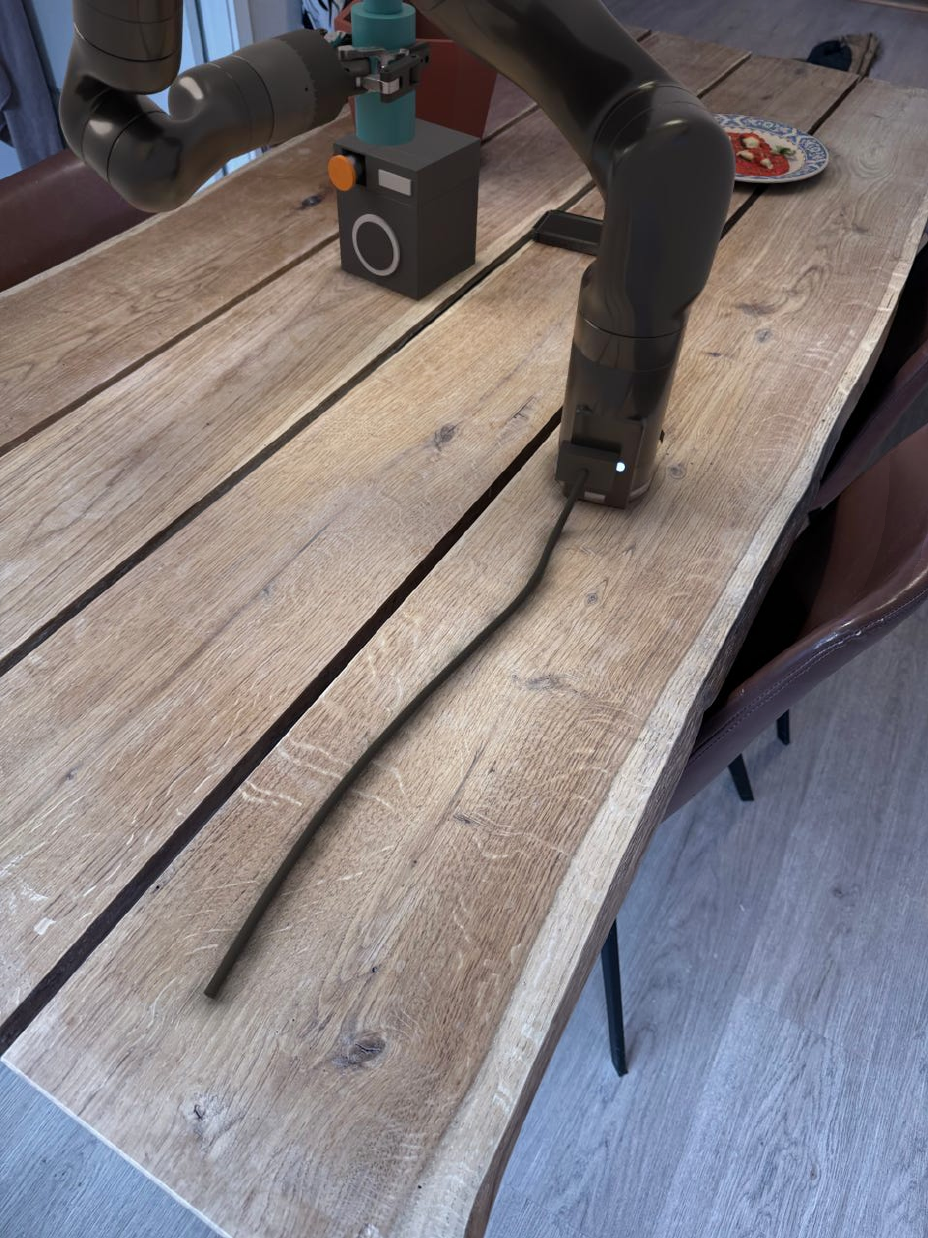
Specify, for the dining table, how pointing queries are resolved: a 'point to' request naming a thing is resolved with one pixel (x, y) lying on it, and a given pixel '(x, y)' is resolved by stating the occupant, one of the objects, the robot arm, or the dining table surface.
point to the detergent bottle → (391, 29)
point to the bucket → (444, 80)
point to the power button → (347, 170)
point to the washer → (411, 210)
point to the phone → (568, 231)
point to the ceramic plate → (772, 150)
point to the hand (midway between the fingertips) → (399, 45)
